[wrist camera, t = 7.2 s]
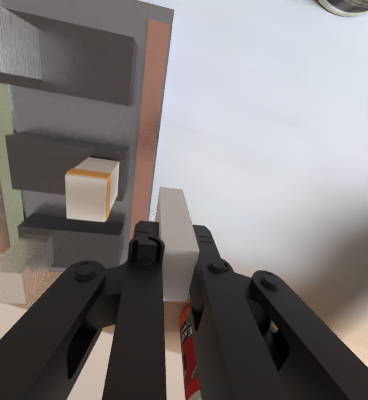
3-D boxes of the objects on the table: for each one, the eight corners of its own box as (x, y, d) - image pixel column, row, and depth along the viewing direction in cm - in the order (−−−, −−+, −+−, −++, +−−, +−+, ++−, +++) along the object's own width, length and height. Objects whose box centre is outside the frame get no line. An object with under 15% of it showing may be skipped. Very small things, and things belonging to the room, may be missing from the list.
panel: (173, 16, 18) (183, -55, 10) (142, 268, 28) (134, 336, 20) (-19, -31, 16) (-209, -171, 8) (21, 260, 26) (-44, 332, 18)
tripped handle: (120, 160, 18) (106, 179, 14) (117, 195, 19) (105, 222, 15) (88, 156, 18) (64, 174, 13) (87, 192, 19) (65, 219, 15)
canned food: (180, 297, 31) (190, 391, 21) (236, 296, 32) (271, 386, 22) (177, 334, 34) (183, 432, 24) (227, 332, 35) (255, 426, 25)
